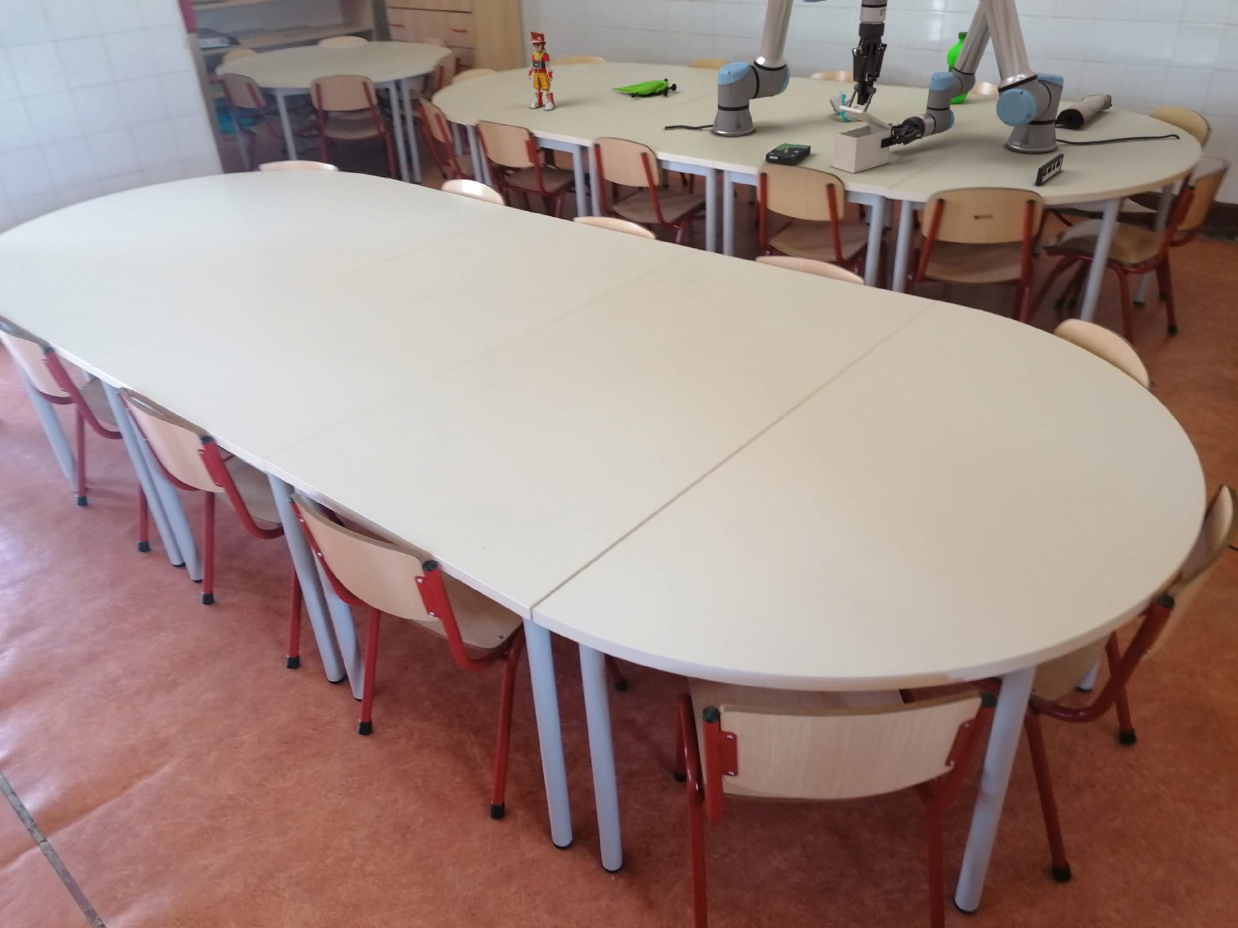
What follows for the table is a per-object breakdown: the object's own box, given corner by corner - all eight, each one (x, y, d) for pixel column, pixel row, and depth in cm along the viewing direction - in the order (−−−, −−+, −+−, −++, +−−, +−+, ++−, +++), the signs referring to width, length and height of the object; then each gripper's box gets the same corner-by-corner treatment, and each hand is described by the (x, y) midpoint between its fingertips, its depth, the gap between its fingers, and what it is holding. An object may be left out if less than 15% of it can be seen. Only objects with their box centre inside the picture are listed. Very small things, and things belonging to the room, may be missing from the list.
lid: (861, 113, 278) (872, 85, 276) (839, 108, 285) (850, 81, 282) (890, 129, 289) (902, 102, 286) (868, 124, 296) (879, 97, 293)
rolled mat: (1079, 99, 336) (1104, 81, 328) (1092, 119, 337) (1117, 102, 329) (1048, 120, 319) (1073, 103, 311) (1062, 142, 319) (1088, 125, 311)
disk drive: (793, 166, 298) (810, 153, 308) (794, 157, 296) (811, 145, 306) (765, 162, 303) (782, 150, 313) (765, 154, 301) (783, 142, 311)
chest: (853, 173, 289) (857, 139, 282) (832, 167, 295) (835, 133, 289) (887, 163, 295) (891, 129, 289) (865, 157, 302) (869, 124, 296)
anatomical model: (825, 90, 346) (850, 83, 345) (827, 117, 352) (853, 110, 351) (835, 99, 333) (862, 92, 333) (838, 127, 339) (864, 120, 338)
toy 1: (525, 109, 381) (517, 32, 364) (534, 104, 388) (527, 28, 371) (550, 110, 377) (543, 32, 360) (559, 105, 384) (553, 28, 367)
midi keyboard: (1039, 185, 269) (1043, 168, 266) (1035, 184, 270) (1038, 168, 267) (1060, 170, 279) (1064, 154, 277) (1056, 169, 280) (1060, 153, 277)
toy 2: (686, 85, 398) (631, 84, 414) (685, 72, 395) (629, 72, 411) (651, 104, 381) (596, 103, 397) (650, 92, 378) (594, 91, 394)
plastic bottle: (973, 101, 354) (984, 32, 339) (955, 106, 349) (966, 36, 335) (952, 97, 361) (962, 29, 346) (934, 102, 356) (944, 33, 342)
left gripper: (864, 26, 264) (855, 110, 278) (899, 20, 271) (889, 102, 284) (845, 24, 270) (838, 106, 283) (880, 17, 276) (871, 98, 289)
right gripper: (941, 145, 297) (894, 159, 287) (890, 132, 312) (844, 145, 303) (945, 122, 293) (897, 135, 283) (892, 110, 308) (846, 122, 298)
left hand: (863, 103), depth 284 cm, fingers closed on lid, 2 cm apart
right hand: (870, 140), depth 293 cm, fingers closed on chest, 9 cm apart
